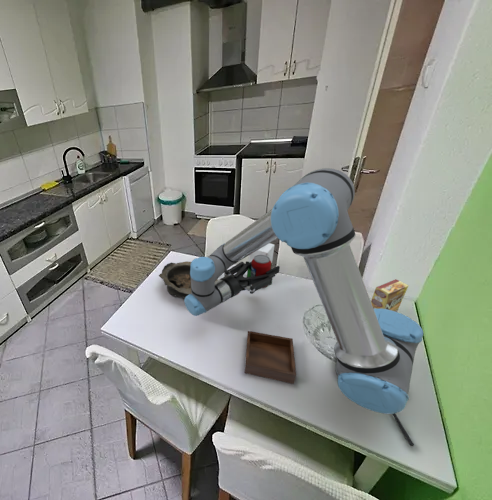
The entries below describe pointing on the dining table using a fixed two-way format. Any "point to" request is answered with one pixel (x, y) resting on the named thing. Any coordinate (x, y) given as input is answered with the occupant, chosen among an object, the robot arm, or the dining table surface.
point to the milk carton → (265, 250)
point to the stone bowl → (177, 278)
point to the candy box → (389, 295)
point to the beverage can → (260, 265)
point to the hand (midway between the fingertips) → (269, 264)
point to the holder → (270, 357)
